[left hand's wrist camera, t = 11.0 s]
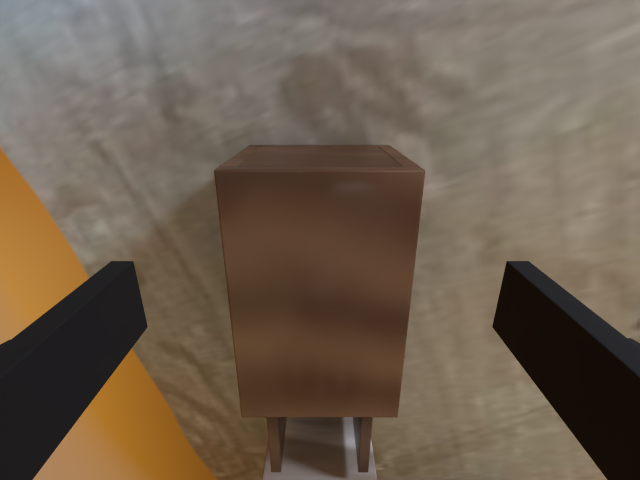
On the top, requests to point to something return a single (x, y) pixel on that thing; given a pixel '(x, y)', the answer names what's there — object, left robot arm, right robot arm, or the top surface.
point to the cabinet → (319, 275)
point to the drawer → (319, 449)
